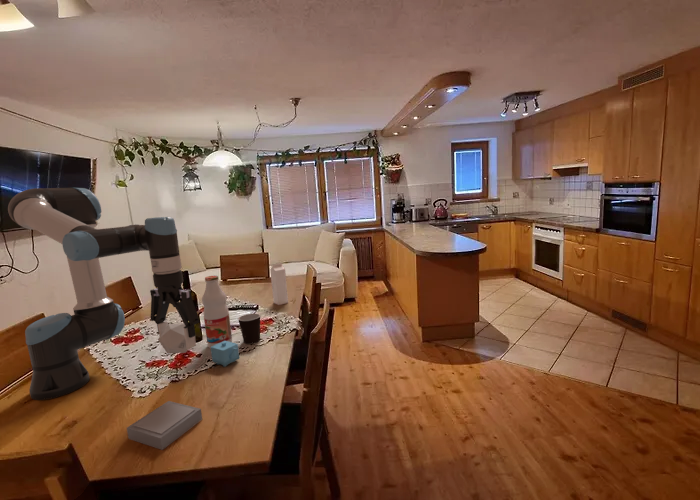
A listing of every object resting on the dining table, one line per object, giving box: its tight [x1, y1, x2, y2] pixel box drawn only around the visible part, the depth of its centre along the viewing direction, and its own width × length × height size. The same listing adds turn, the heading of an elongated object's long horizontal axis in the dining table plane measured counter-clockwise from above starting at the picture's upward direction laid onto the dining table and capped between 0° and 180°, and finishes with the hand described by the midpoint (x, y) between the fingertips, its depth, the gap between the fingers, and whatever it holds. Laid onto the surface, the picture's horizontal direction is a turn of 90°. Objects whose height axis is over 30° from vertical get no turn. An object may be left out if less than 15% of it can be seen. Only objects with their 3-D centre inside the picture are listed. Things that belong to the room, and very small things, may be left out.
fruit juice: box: [201, 274, 233, 349], centre depth 140 cm, size 9×9×28 cm
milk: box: [269, 262, 289, 306], centre depth 193 cm, size 6×6×22 cm
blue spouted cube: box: [210, 341, 240, 368], centre depth 125 cm, size 12×6×8 cm, turn 56°
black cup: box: [237, 313, 261, 345], centre depth 145 cm, size 12×9×10 cm
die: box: [157, 322, 188, 355], centre depth 104 cm, size 8×9×10 cm
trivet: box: [126, 400, 203, 451], centre depth 90 cm, size 12×12×3 cm
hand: (178, 345), depth 104 cm, fingers closed on die, 10 cm apart
